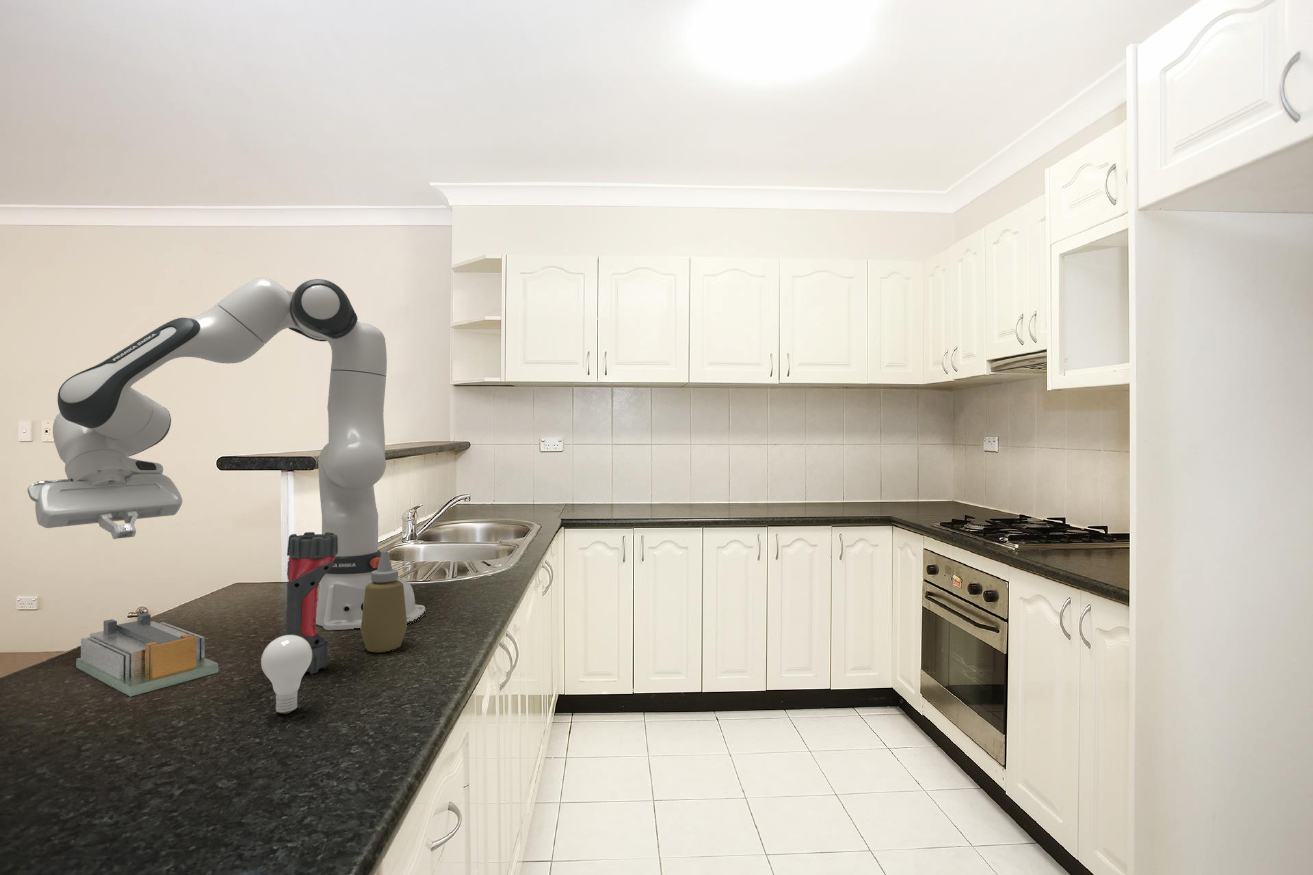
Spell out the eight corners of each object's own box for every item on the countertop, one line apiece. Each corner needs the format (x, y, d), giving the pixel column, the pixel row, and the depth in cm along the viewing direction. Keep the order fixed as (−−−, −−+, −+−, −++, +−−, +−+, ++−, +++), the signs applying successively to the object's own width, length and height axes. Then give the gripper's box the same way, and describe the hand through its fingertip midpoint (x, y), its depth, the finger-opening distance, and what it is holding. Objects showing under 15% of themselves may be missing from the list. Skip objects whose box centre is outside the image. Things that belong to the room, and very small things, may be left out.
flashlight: (346, 664, 112) (347, 532, 112) (310, 680, 104) (311, 538, 104) (311, 659, 114) (312, 529, 114) (272, 674, 107) (274, 536, 107)
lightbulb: (288, 724, 89) (289, 644, 89) (249, 719, 90) (250, 640, 90) (321, 705, 95) (322, 630, 95) (284, 701, 96) (285, 627, 96)
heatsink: (76, 667, 109) (76, 623, 109) (160, 648, 119) (160, 607, 119) (130, 696, 97) (130, 646, 97) (218, 672, 108) (218, 627, 108)
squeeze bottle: (361, 658, 115) (362, 557, 115) (359, 644, 122) (359, 549, 122) (409, 651, 119) (410, 553, 119) (404, 639, 126) (405, 546, 126)
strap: (115, 630, 112) (115, 624, 112) (136, 625, 114) (136, 620, 114) (160, 649, 102) (160, 643, 102) (181, 644, 105) (181, 638, 105)
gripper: (28, 469, 108) (51, 532, 103) (171, 463, 126) (196, 516, 121) (20, 494, 111) (41, 557, 106) (161, 485, 128) (185, 538, 123)
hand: (125, 535), depth 113 cm, fingers closed
